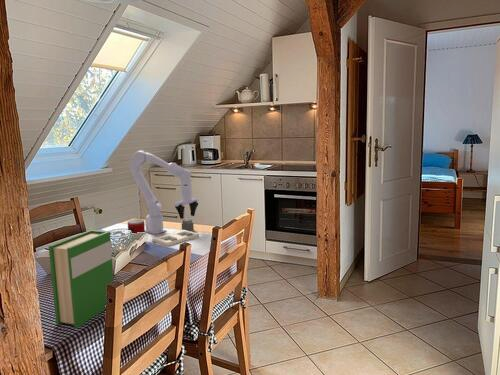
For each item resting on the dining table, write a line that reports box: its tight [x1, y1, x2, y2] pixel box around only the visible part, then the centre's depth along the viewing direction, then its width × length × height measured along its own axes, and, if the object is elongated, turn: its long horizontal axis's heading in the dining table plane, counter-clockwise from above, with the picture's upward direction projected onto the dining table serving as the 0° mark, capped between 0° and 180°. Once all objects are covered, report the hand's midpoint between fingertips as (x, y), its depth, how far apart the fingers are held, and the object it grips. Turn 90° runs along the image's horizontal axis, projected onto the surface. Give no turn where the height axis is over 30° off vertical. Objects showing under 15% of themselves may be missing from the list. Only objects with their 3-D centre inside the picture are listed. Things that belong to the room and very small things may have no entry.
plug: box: [181, 218, 195, 232], centre depth 218 cm, size 4×4×6 cm
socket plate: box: [151, 229, 200, 247], centre depth 203 cm, size 12×20×2 cm, turn 139°
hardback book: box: [48, 229, 114, 329], centre depth 124 cm, size 18×7×24 cm, turn 162°
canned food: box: [127, 218, 146, 233], centre depth 197 cm, size 8×8×11 cm
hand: (187, 217), depth 217 cm, fingers open, 7 cm apart
